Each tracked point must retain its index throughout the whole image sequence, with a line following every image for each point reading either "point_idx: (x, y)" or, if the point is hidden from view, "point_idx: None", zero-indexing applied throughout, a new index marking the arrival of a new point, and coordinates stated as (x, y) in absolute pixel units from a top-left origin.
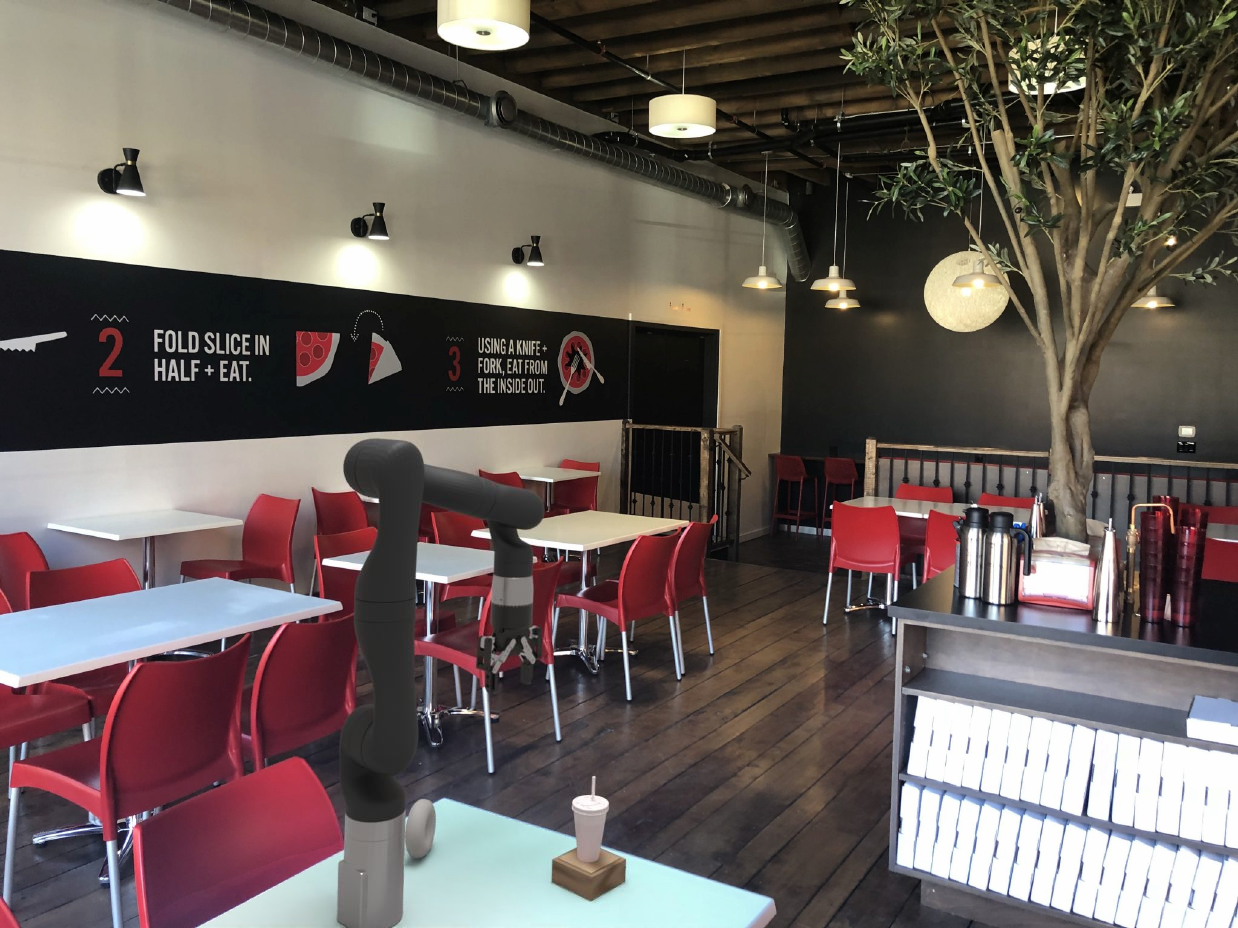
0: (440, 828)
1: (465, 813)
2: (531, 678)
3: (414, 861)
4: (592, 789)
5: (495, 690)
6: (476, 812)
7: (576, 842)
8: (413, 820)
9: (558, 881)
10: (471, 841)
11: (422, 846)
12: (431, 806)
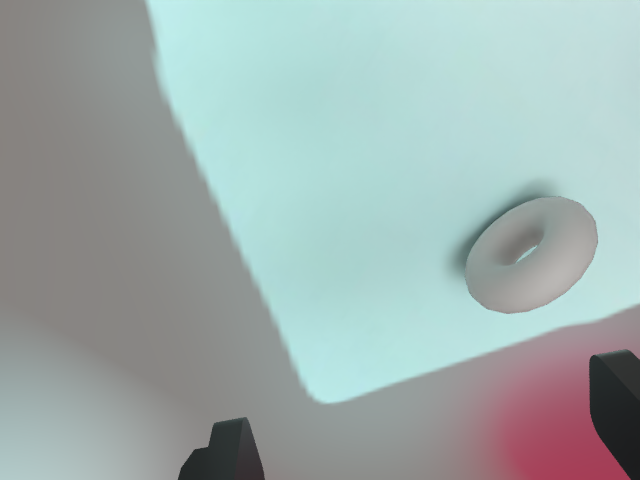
0: (396, 313)
1: (311, 346)
2: (209, 446)
3: None
4: None
5: (627, 357)
6: (288, 339)
7: None
8: (593, 234)
9: None
10: (375, 225)
11: (545, 198)
12: (521, 270)
